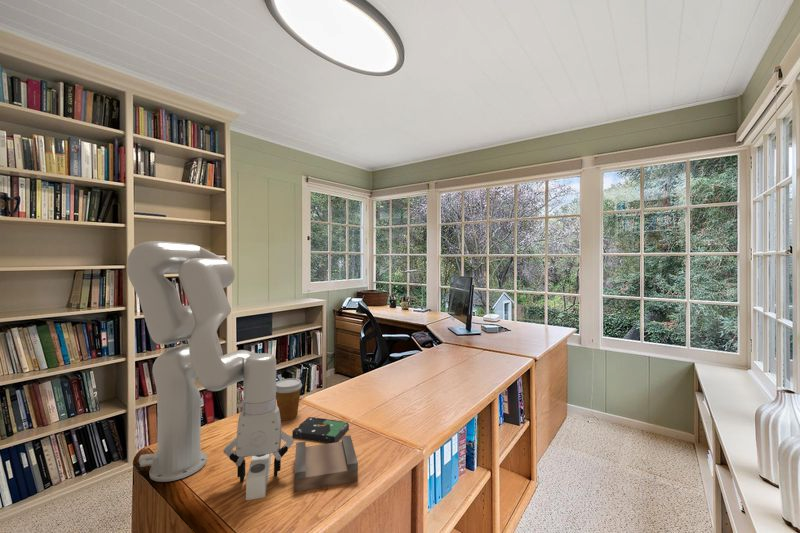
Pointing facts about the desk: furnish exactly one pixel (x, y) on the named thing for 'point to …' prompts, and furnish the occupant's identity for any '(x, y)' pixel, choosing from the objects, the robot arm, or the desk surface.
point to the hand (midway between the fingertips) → (259, 475)
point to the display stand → (325, 464)
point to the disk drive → (320, 430)
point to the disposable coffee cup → (288, 397)
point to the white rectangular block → (258, 476)
